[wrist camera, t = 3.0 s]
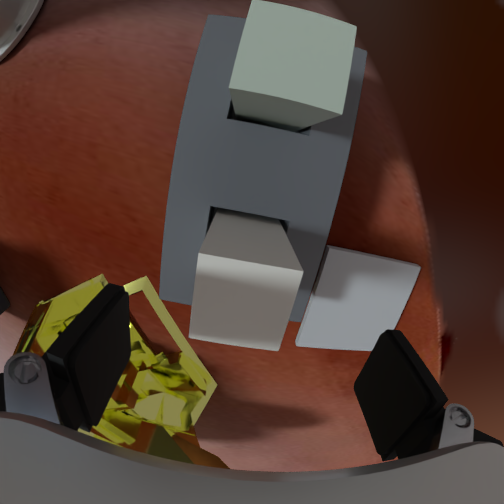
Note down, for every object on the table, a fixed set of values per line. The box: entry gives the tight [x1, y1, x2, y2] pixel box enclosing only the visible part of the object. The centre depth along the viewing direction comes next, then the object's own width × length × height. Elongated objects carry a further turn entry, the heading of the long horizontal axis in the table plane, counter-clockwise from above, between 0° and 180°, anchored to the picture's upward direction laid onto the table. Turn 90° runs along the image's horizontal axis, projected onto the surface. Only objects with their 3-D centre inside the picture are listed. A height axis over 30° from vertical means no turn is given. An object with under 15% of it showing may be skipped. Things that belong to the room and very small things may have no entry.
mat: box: [295, 245, 421, 351], centre depth 24 cm, size 10×10×1 cm
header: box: [159, 15, 367, 322], centre depth 18 cm, size 19×10×5 cm, turn 169°
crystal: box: [13, 274, 230, 469], centre depth 20 cm, size 18×25×16 cm
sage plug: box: [229, 0, 357, 132], centre depth 12 cm, size 4×4×10 cm
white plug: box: [189, 207, 304, 351], centre depth 16 cm, size 4×4×10 cm
